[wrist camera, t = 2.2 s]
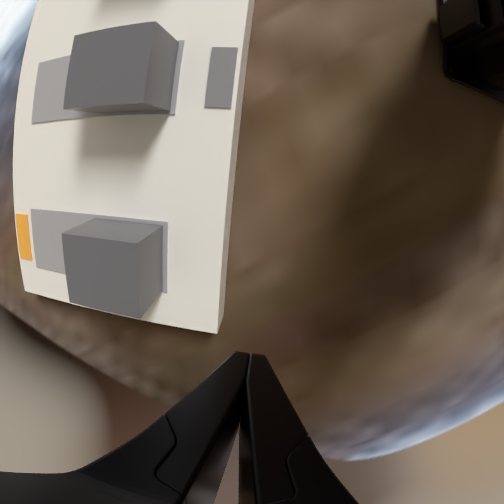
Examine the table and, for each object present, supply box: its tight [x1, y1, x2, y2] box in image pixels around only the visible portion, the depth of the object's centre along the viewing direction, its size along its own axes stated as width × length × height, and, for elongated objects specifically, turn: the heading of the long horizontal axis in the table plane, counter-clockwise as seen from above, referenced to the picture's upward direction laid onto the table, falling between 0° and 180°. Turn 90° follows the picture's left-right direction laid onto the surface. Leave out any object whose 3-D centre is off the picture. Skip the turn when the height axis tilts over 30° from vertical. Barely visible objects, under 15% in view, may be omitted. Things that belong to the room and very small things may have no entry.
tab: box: [62, 218, 163, 319], centre depth 14 cm, size 4×4×3 cm
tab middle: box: [63, 21, 179, 113], centre depth 11 cm, size 4×4×3 cm
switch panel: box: [13, 0, 255, 334], centre depth 14 cm, size 14×26×2 cm, turn 174°
